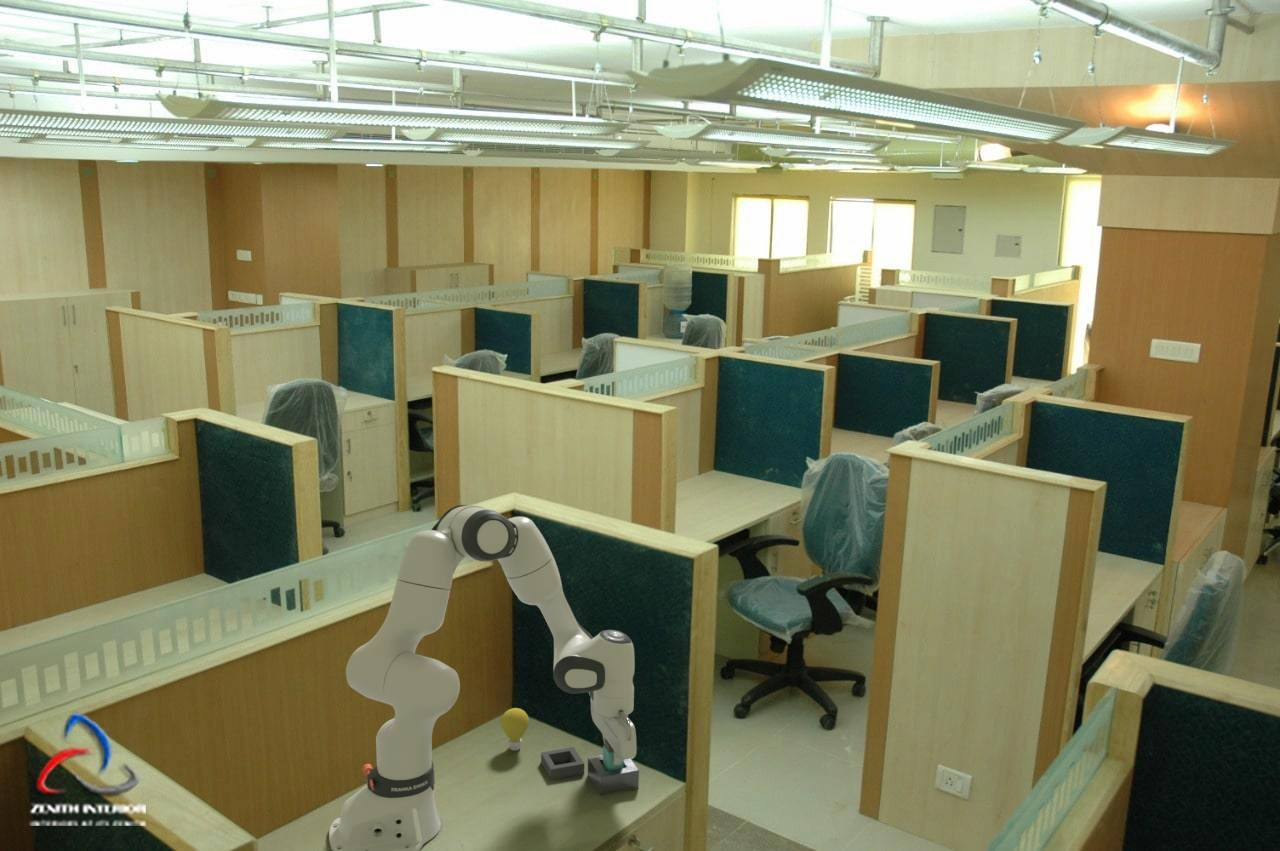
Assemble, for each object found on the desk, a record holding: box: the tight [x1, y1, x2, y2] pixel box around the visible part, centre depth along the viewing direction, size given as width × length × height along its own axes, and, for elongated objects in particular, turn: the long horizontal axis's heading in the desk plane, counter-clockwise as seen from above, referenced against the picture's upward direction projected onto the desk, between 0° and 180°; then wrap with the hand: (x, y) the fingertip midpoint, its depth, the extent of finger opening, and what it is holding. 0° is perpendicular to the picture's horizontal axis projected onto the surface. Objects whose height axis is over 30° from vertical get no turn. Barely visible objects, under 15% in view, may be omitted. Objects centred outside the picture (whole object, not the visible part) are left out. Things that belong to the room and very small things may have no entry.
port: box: [587, 754, 640, 796], centre depth 239 cm, size 9×9×5 cm
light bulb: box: [500, 707, 530, 751], centre depth 253 cm, size 7×7×10 cm
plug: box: [602, 740, 624, 771], centre depth 239 cm, size 4×4×8 cm
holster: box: [540, 746, 585, 780], centre depth 245 cm, size 8×8×2 cm
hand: (612, 757), depth 239 cm, fingers closed on plug, 4 cm apart
